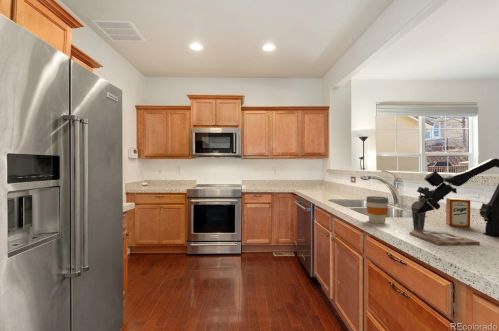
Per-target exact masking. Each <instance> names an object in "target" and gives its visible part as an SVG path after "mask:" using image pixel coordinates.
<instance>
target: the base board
mask: <svg viewBox="0 0 499 331" xmlns="http://www.w3.org/2000/svg"><path fill="white" fill-rule="evenodd" d="M410 234H411V236H413V237H415V238H419V239H421V240H424V241H425V242H428V241H429V242H428V243H431V244H433V243H434V245H436V244H437V246H459V245H460V246H467V245H469V246H470V245H480V241H479V240H475V239H473V238H469V237H465V236H463V235H460V234H456V233H452V232H449V231H448V230H447V231H446V230H443V231H442V230H441V231H440V230H438V231H434V230H433V231H409V235H410Z"/></svg>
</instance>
